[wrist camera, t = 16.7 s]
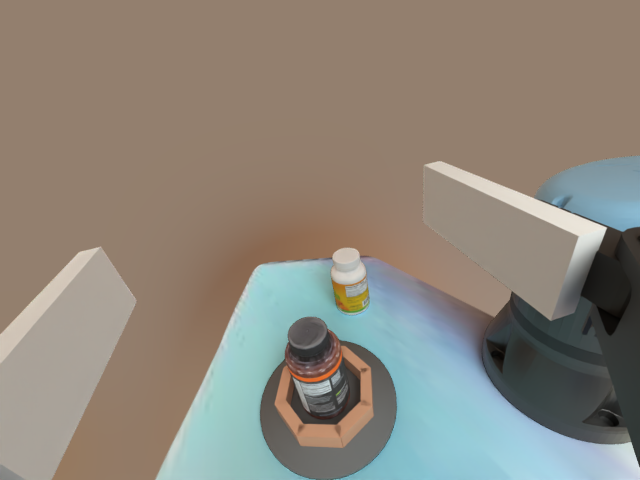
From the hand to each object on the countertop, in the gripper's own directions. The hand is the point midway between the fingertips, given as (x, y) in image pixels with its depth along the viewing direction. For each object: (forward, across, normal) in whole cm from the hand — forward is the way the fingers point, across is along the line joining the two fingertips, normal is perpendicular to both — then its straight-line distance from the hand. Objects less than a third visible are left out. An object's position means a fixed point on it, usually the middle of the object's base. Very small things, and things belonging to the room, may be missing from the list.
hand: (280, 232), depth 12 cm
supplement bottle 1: (+10, 0, -28) cm, 29 cm away
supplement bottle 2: (+23, +8, -28) cm, 38 cm away
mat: (+10, 0, -28) cm, 30 cm away
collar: (+10, 0, -28) cm, 29 cm away
